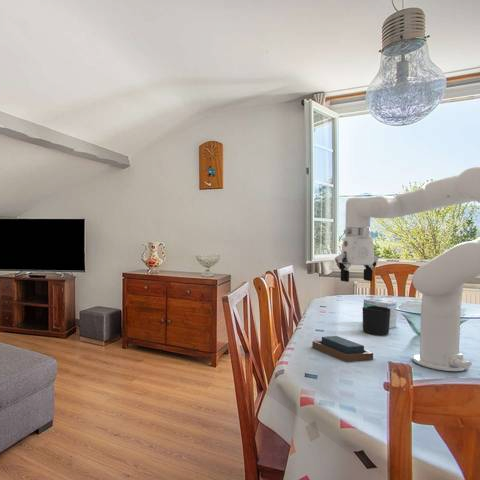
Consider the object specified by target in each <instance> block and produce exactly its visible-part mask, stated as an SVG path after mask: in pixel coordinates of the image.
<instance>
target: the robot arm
mask: <svg viewBox="0 0 480 480" xmlns="http://www.w3.org/2000/svg"><path fill="white" fill-rule="evenodd" d="M470 202H471V203H472V202H476V203H479V204H480V166H473V167H469V168H467V169H465V170H463V171H462V172H460V173H459V174H457V175H453V176H448V177H445V178H441V179H437V180H432V181H429V182H426V183H425V184H423V186H421V187H420V188H418V189H415V190H412V191H408V192H405V193H401V194H396V195H391V196H389V195H374V196H369V197H350V198H348V199H347V200H346V202H345V227H344V228H345V229H344V230H343V234H344V236H343V240H342V244H341V245H342V246H341V253H340V254H339V255H337V256H335V257H334V261H335V263H336V266H337V267H338V269H339V270H340V282H345V283H349V281H350V270H349V268H350V267H351V266H363V267H364V269H363V280H364V281H367V282H372V281H373V270H375V267H376V266H377V264H378V261H379V256H377V255H375V248H374V247H375V246H374V240H373V237H372V236H371V218H372V219H373V218H374V219H395V218H401V217H404V216H405V217H406V216H409V215H414V214H419V213H423V212H427V211H433V210H436V209H442V208H446V207H450V206H451V207H452V206H456V205H461V204H465V203H470ZM479 276H480V237H477V238H476V239H474V240H471V241H464V242H460V243H458V244H455V245H454V246H452V247H450V248H449V249H447V250H445V251H444V252H441V253H440V254H438V255H436V256H435V257H433V258H432V259H430V260H429V261H427V262H425V263H424V264H422V265H420V266H419V267H418V268H416V269H415V271H413V275H412V279H411V281H412V282H411V283H412V285H413V287H414V288H415V290H416V291H417V292H418V293H420V294H421V295H422V296H421V302H420V303H421V304H420V321H419V323H420V324H419V325H420V327H419V354H415V355H414V356H413V357H412V358H413V362H414V363H416V364H418V365H420V366H423V367H425V368H429V369H433V370H438V371H446V372H462V371H465V370H468V369H470V367H471V366H472V361H469V360H467V359H464V354H463V353H460V339H461V337H460V336H461V311H462V299H463V292H464V284H466V283H468V282H470V281H472V280H474V279H475V278H477V277H479Z"/></svg>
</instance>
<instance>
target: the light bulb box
mask: <svg viewBox="0 0 480 480" xmlns="http://www.w3.org/2000/svg"><path fill="white" fill-rule="evenodd" d="M369 306H380V307H386V308H389V309H390V323H389V329H393V328H397V318H398V317H397V316H398V315H397V313H398V310H397V311H396V310H394V309H396V308H397V309H398V302H397V301H392V300H386V299H382V298H381V299H379V298H375V297H370V298H363V306H362V307H364V308H366V307H369Z"/></svg>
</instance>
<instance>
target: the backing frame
mask: <svg viewBox="0 0 480 480" xmlns="http://www.w3.org/2000/svg"><path fill="white" fill-rule="evenodd" d="M311 345H312V348H313V349H316V350H318V351H320V352H322V353H325V354H327V355H330V356H332V357H334V358H336V359H339V360H341V361H343V362H345V363H349V362H351V363H352V362H361V361H363V362H364V361H372V360H374V352H372V351H369V350H367V349H364V353H355V354H345V353H343V352H340V351H338V350H335V349H333V348H330V347H328V346H325V345H323V344H322V340H312V344H311Z"/></svg>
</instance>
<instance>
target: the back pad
mask: <svg viewBox="0 0 480 480" xmlns="http://www.w3.org/2000/svg"><path fill="white" fill-rule="evenodd" d="M321 341H322V344H323V345H325V346H328V347H330V348H333V349H335V350H338V351H340V352H343V353H345V354H355V353H364V350H365V345H363V344H361V343H357V342H355V341H351V340H349V339H346V338H344V337H340V336H338V335H330V336H321Z"/></svg>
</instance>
